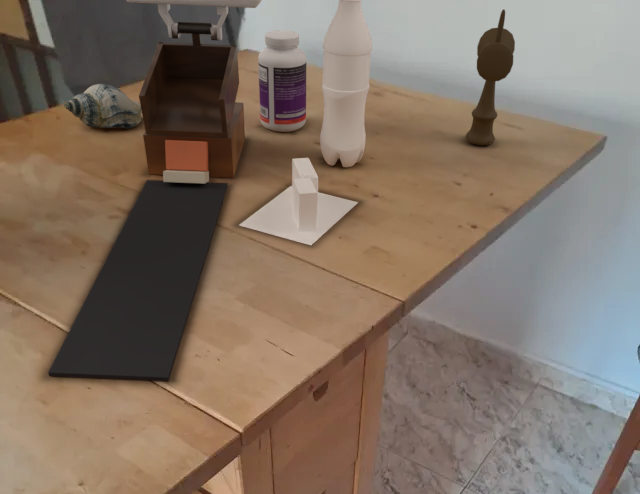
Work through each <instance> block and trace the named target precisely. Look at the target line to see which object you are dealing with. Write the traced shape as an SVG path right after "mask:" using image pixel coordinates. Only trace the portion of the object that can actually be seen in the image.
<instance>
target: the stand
mask: <svg viewBox="0 0 640 494" xmlns="http://www.w3.org/2000/svg"><path fill="white" fill-rule="evenodd" d="M245 131H246V129H245V107H244V102H236V101H235V106H234V110H233V115H232V120H231V125H230V130H229V135H228V138H221V137H197V136H173V135H149V134H146V131H145V130H144V133H143V134H142V138H143V144H144V152H145V157H146V158H145V160H146V165H147V173H148V175H161V176H163V171H165V170H168V169H166V152H165V140H180V141H204V142H208V171H209V178H235V174H236V170H237V167H238V164H239V161H240V157H241V154H242V150H243V148H244V144H245V140H246V132H245Z"/></svg>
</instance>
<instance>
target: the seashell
mask: <svg viewBox="0 0 640 494" xmlns="http://www.w3.org/2000/svg"><path fill="white" fill-rule="evenodd" d="M63 107H64V108H65V109H66V110H68V112H70V113H71V114H72V115H73V116H75V118H79V120H80V121H81V123H83V125H84V126H86V127H89V128H93V129H94V128H95V129H96V128H101V129H110V128H111V129H112V128H116V129H117V128H118V129H119V128H120V129H126V130H129V129H133V128H135V127H137V126H138V125H139V124H140V123H141V122H142V110H141V105H140V102H138V101H136V100H134V99H131V98H130V97H129V96H127V94H126V93H125V92H124V91H123V90H121V89H120V88H118V87H117V86H116V87H115V86H113V85H112V84H108V83H97V84H93V85H91V86H89V87H88V88H87V89H86V90H85V91H83V92H81V93H78V94H76V95H74V97H73V98H70V99H69V100H68V101H67V102H65V103H64V104H63Z"/></svg>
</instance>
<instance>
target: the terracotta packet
mask: <svg viewBox="0 0 640 494" xmlns="http://www.w3.org/2000/svg"><path fill="white" fill-rule="evenodd" d="M165 152H166V169H172V170H196V171H208V142H204V141H180V140H165Z"/></svg>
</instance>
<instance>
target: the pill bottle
mask: <svg viewBox="0 0 640 494" xmlns="http://www.w3.org/2000/svg"><path fill="white" fill-rule="evenodd" d="M264 43H265V46H266V47H265V48H263V49H261V50H260V52H259V54H258V57H257V62H258V64H257V65H258V67H257V68H258V85H259V86H258V91H259V94H258V95H259V117H260V118H259V119H260V120H259V121H260V123H261V125H262V126H263V127H265V128H266V129H267V130H269V131H275V132H281V133H282V132H283V133H287V132H294V131H297V130H299V129H302V128H303V127H304V126H305V124H306V122H307V56H306V53H305V51H303V50H302V49H301V48H299V47H298V46H299V45H300V35H299V33H298V32H296V31H292V30H286V29H285V30H284V29H283V30H282V29H280V30H271V31H267V32H266V33H265V34H264Z"/></svg>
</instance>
